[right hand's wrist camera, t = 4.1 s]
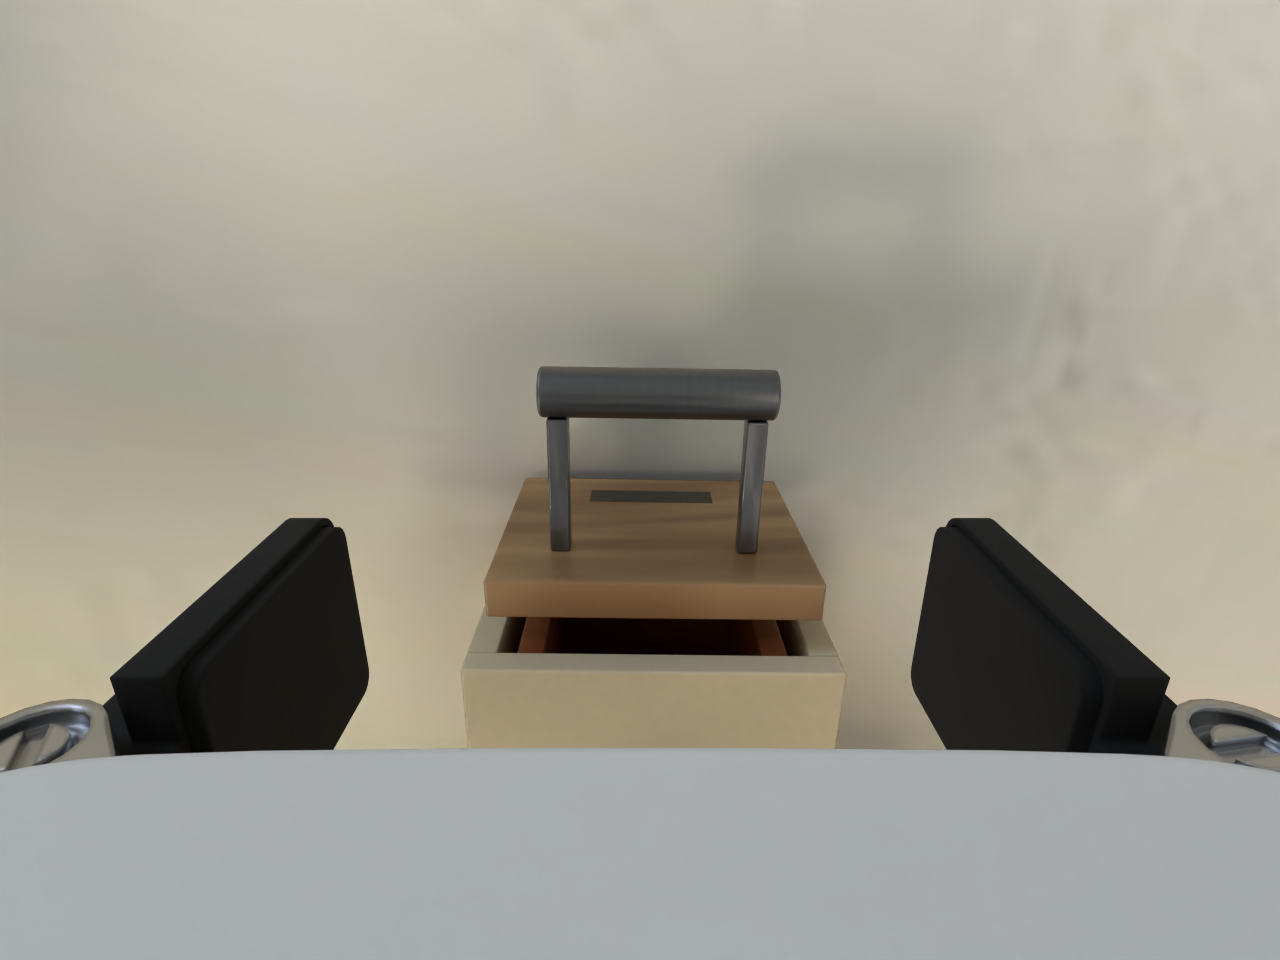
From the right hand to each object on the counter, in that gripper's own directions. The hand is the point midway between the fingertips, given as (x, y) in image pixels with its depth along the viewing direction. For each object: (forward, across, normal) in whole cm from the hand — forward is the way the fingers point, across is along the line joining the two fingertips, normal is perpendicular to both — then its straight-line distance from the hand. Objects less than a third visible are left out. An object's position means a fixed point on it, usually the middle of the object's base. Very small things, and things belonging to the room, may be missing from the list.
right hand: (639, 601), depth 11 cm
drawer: (+15, 0, +7) cm, 17 cm away
